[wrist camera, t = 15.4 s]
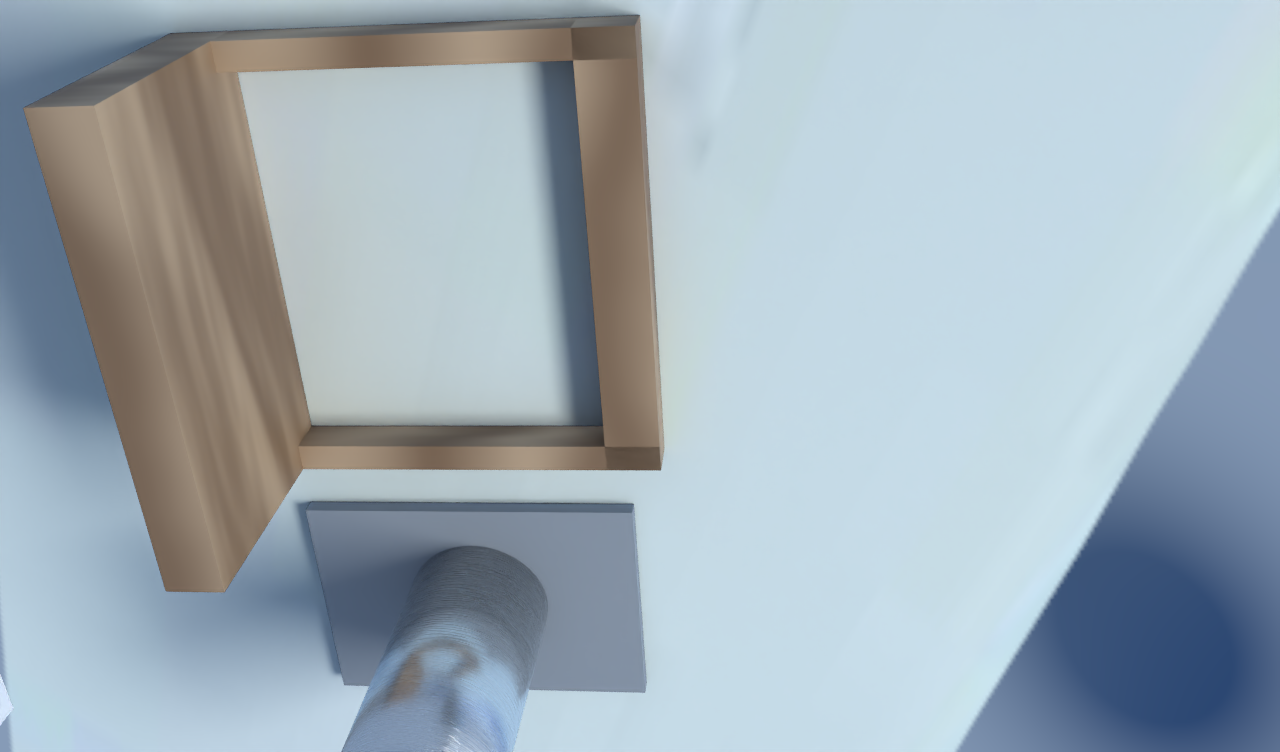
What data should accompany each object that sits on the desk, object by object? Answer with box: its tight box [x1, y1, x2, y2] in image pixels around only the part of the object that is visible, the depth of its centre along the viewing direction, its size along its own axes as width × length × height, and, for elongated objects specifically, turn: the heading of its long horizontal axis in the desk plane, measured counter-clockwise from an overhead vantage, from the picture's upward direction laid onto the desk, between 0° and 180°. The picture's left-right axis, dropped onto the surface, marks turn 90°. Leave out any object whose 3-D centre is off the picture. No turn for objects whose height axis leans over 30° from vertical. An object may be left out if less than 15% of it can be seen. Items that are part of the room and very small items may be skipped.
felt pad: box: [306, 502, 647, 693], centre depth 50 cm, size 13×9×1 cm
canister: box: [342, 546, 548, 752], centre depth 44 cm, size 6×6×12 cm
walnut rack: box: [23, 15, 664, 592], centre depth 39 cm, size 16×16×9 cm
